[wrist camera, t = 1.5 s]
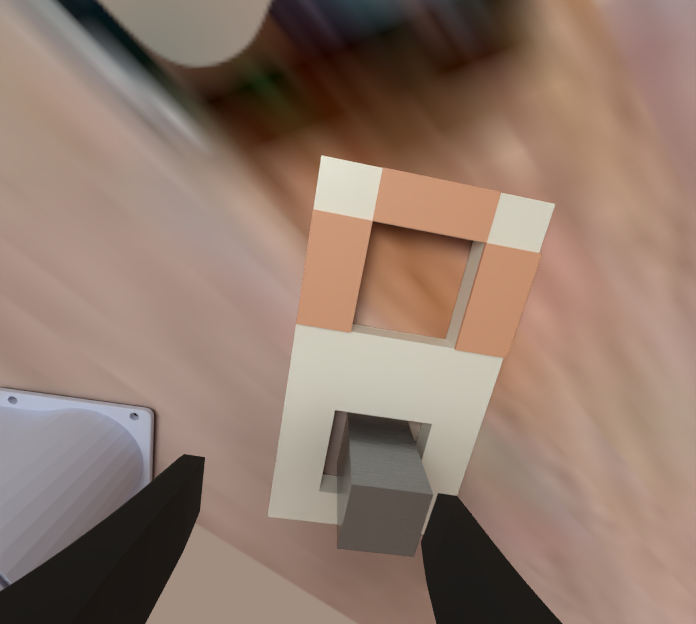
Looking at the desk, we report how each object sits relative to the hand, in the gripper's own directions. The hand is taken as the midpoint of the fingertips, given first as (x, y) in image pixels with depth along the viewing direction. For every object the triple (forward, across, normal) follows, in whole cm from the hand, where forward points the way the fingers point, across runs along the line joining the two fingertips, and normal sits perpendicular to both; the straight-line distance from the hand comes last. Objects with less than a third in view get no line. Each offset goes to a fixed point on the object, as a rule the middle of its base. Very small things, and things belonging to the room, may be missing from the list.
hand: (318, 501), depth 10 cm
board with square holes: (+10, -4, 0) cm, 11 cm away
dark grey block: (+10, -4, +6) cm, 12 cm away
